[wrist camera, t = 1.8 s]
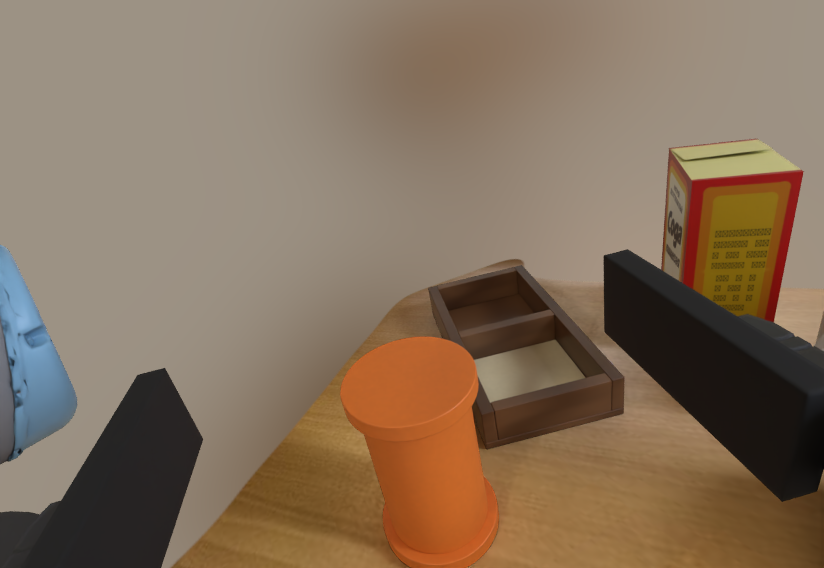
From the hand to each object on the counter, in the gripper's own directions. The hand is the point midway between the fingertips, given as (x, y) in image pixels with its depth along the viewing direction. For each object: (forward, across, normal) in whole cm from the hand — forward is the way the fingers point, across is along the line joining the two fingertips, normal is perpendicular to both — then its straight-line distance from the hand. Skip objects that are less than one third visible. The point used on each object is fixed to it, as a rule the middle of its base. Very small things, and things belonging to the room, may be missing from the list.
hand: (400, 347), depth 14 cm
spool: (+9, 0, -20) cm, 22 cm away
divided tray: (+24, +10, -20) cm, 33 cm away
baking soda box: (+21, +28, -20) cm, 41 cm away
